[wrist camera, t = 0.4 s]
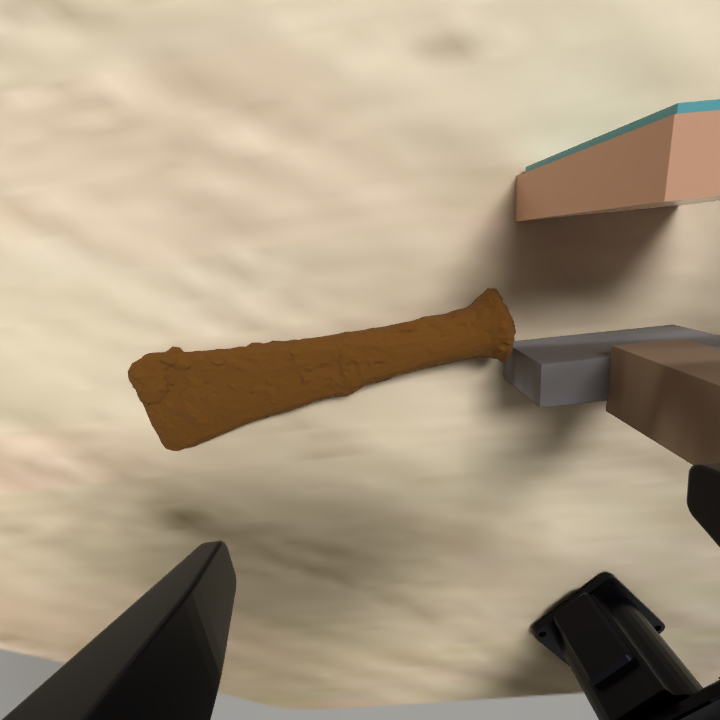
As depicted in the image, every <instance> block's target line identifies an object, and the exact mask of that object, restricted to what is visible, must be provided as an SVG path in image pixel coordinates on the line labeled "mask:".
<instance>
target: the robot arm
mask: <svg viewBox="0 0 720 720" xmlns="http://www.w3.org/2000/svg"><path fill="white" fill-rule="evenodd" d="M687 506H688V508H689V511H690V512H691V514H692V516H693V517H694V518H695V519H696V520H697V522H698V523H699V524H700V525H701V526H702V527H703V528H704V530H705V531H706V532H707V533H708V534H709V535H710V536H711V538H712V539H713V540H714V541H715V542H716V543H717V545H718V546H719V547H720V462H707V463H701V464H696V465H694V466H692V467H691V468H690V470H689V477H688V490H687ZM235 591H236V575H235V571H234V568H233V564H232V561H231V558H230V555H229V551H228V548H227V545H226V544H225V542H223V541H215V542H209V543H204V544H201V545H200V546H199V547H198V548H196V549H195V550H194V551H193V552H192V553H191V554H190V555H188V556H187V557H186V558H185V559H184V560H183V561H182V562H180V563H179V564H178V565H177V566H176V567H175V568H174V569H173V570H171V571H170V572H169V573H168V574H167V575H166V576H165V577H163V578H162V579H161V580H160V581H159V582H158V583H157V584H156V585H154V586H153V587H152V588H151V589H150V590H149V591H148V592H146V593H145V594H144V595H143V596H142V597H141V598H140V599H138V600H137V601H136V602H135V603H134V604H133V605H132V606H131V607H129V608H128V609H127V610H126V611H125V612H124V613H123V614H121V615H120V616H119V617H118V618H117V619H116V620H115V621H113V622H112V623H111V624H110V625H109V626H108V627H107V628H106V629H104V630H103V631H102V632H101V633H100V634H99V635H98V636H96V637H95V638H94V639H93V640H92V641H91V642H90V643H88V644H87V645H86V646H85V647H84V648H83V649H82V650H80V651H79V652H78V653H77V654H76V655H75V656H74V657H73V658H71V659H70V660H69V661H68V662H67V663H66V664H65V665H63V666H62V667H61V668H60V669H59V670H58V671H57V672H56V673H54V674H53V675H52V676H51V677H50V678H49V679H48V680H46V681H45V682H44V683H43V684H42V685H41V686H40V687H39V688H37V689H36V690H35V691H34V692H33V693H32V694H31V695H29V696H28V697H27V698H26V699H25V700H24V701H22V702H21V703H20V704H19V705H18V706H17V707H16V708H15V709H13V710H12V711H11V712H10V713H9V714H8V715H7V716H5V717H4V718H3V719H2V720H210V719H211V715H212V711H213V707H214V704H215V699H216V696H217V692H218V688H219V684H220V679H221V675H222V669H223V664H224V658H225V652H226V646H227V640H228V634H229V628H230V621H231V615H232V609H233V603H234V597H235ZM664 629H665V625H664V624H663V623H662V621H661V620H660V619H659V618H658V617H657V616H656V615H655V614H654V613H653V612H652V611H651V610H650V609H649V608H648V607H646V606H645V605H644V604H643V603H642V602H641V601H640V600H639V599H638V598H637V597H636V596H635V595H634V594H633V593H632V592H631V591H630V590H629V589H628V588H627V587H626V586H625V585H623V584H622V583H621V582H620V581H619V580H618V579H617V578H616V577H615V576H614V575H613V574H611V573H605V574H603V575H601V576H600V577H599V578H597V579H596V580H594V581H593V582H592V583H590V584H589V585H588V586H586V587H585V588H584V589H582V590H581V591H580V592H578V593H577V594H576V595H574V596H573V597H572V598H570V599H569V600H568V601H566V602H565V603H564V604H562V605H561V606H560V607H558V608H557V609H556V610H554V611H553V612H552V613H550V614H549V615H547V616H546V617H545V618H543V619H542V620H541V621H539V622H538V623H537V624H535V625H534V626H533V628H532V631H533V633H534V635H535V637H536V639H537V640H539V641H540V642H541V643H542V644H544V645H545V646H546V647H547V648H548V649H550V650H551V651H552V652H553V653H554V654H556V655H557V656H558V657H559V658H561V659H562V660H563V661H564V662H565V663H567V664H568V665H569V666H570V667H571V669H572V671H573V673H574V675H575V677H576V678H577V680H578V682H579V684H580V686H581V688H582V689H583V691H584V693H585V695H586V697H587V699H588V700H589V702H590V704H591V706H592V708H593V710H594V711H595V713H596V715H597V717H598V719H599V720H720V680H718V681H716V682H715V683H713V684H711V685H709V686H707V687H705V688H703V687H702V686H701V685H700V684H699V682H698V681H697V680H696V679H695V677H694V676H693V675H692V674H691V673H690V671H689V670H688V669H687V668H686V666H685V665H684V664H683V663H682V662H681V660H680V659H679V658H678V657H677V655H676V654H675V653H674V652H673V651H672V649H671V648H670V647H669V646H668V644H667V643H666V642H665V641H664V640H663V638H662V637H661V636H660V635H659V634H660V633H661V632H662V631H663V630H664ZM718 678H719V679H720V677H718Z"/></svg>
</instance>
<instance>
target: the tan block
mask: <svg viewBox="0 0 720 720" xmlns="http://www.w3.org/2000/svg"><path fill="white" fill-rule="evenodd" d="M711 201H720V99H719V100H708V101H697V102H686V103H678V104H675V105H673V106H671V107H668V108H666V109H663V110H661V111H659V112H656V113H654V114H651V115H649V116H647V117H644V118H642V119H640V120H637V121H635V122H632V123H630V124H628V125H625V126H623V127H620V128H618V129H616V130H613V131H611V132H608V133H606V134H604V135H601V136H599V137H597V138H594V139H592V140H589V141H587V142H585V143H582V144H580V145H577V146H575V147H573V148H570V149H568V150H566V151H563V152H561V153H558V154H556V155H554V156H551V157H549V158H546V159H544V160H542V161H539V162H537V163H535V164H532V165H530V166H527V167H526V172H525V173H523V174H520V175H518V176H516V221H524V220H534V219H544V218H555V217H565V216H575V215H585V214H595V213H606V212H616V211H626V210H636V209H646V208H657V207H667V206H677V205H686V204H694V203H703V202H711Z"/></svg>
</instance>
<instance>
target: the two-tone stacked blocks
mask: <svg viewBox="0 0 720 720" xmlns="http://www.w3.org/2000/svg"><path fill="white" fill-rule="evenodd" d="M504 379H505V380H507V381H508V382H509V383H510V384H512V385H513V386H514V387H515V388H517V389H518V390H519V391H520V392H521V393H523V394H524V395H525V396H526V397H528V398H529V399H530V400H531V401H533V402H534V403H535V404H536V405H537V406H539V407H550V406H559V405H568V404H577V403H587V402H596V401H605V400H607V404H606V411H607V412H609V413H610V414H612V415H614V416H615V417H617V418H618V419H620V420H622V421H623V422H625V423H626V424H628V425H630V426H631V427H633V428H634V429H636V430H638V431H639V432H641V433H642V434H644V435H646V436H647V437H649V438H650V439H652V440H654V441H655V442H657V443H658V444H660V445H662V446H663V447H665V448H667V449H668V450H670V451H671V452H673V453H675V454H676V455H678V456H679V457H681V458H683V459H684V460H686V461H687V462H689V463H691V464H692V465H696V464H701V463H707V462H720V336H718V335H714V334H710V333H705V332H701V331H697V330H693V329H689V328H684V327H680V326H676V325H665V326H655V327H646V328H636V329H627V330H617V331H607V332H598V333H588V334H578V335H569V336H559V337H550V338H540V339H530V340H521V341H514V344H513V349H512V352H511V355H510V357H509V359H508V360H506V361H504Z"/></svg>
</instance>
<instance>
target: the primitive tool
mask: <svg viewBox="0 0 720 720" xmlns="http://www.w3.org/2000/svg"><path fill="white" fill-rule="evenodd" d="M515 333H516V331H515V325H514V321H513V319H512V317H511V315H510V313H509V311H508V308H507V306H506V305H505V304H504V302H503V300H502V298H501V296H500V295H499V293H498V291H497V290H496V289H494V288H488V289H487V290H486V291H485V292H484V293H483V294H482V295H481V296H480V297H479V298H478V299H477V300H476V301H475V302H474V303H473V304H472V305H470V306H469V307H468V308H464V309H459V310H455V311H452V312H450V313H447V314H442V315H434V316H425V317H421V318H420V319H416V320H414V321H410V322H404V323H399V324H395V325H390V326H385V327H379V328H370V329H366V330H361V331H354V332H344V333H340V334H335V335H330V336H323V337H316V338H307V339H301V340H289V341H285V342H283V341H271V342H269V343H264V344H262V343H251V344H249V345H248V346H246V347H236V348H231V349H216V350H209V351H194V352H183V351H182V350H181V349H180V348H178V347H172V348H170V349H169V350H168V351H166V352H161V353H160V352H159V353H149V354H146V355H144V356H143V357H142V359H139V360H138V361H136V362H134V363H132V365H131V367H130V369H129V371H128V377H129V380H130V382H131V383H132V385H133V388H135V389H136V392H137V395H138V397H139V399H140V401H141V402H142V403H143V405H144V407H145V409H146V412H147V415H148V417H149V419H150V422H151V424H152V426H153V427H154V429H155V431H156V432H157V434H158V436H159V438H160V440H161V443H162V444H163V446H164V447H165V448H166V449H169V450H173V451H179V450H182V449H184V448H189V447H192V446H196V445H197V444H199V443H202V442H204V441H207V440H210V439H212V438H214V437H217V436H219V435H221V434H223V433H226V432H228V431H231V430H233V429H235V428H237V427H239V426H241V425H244V424H247V423H249V422H252V421H255V420H258V419H261V418H265V417H268V416H270V415H274V414H279V413H282V412H286V411H290V410H293V409H295V408H299V407H301V406H304V405H307V404H310V403H312V402H314V401H317V400H322V399H325V398H330V397H331V396H347V395H350V394H352V393H354V392H355V391H357V390H358V389H360V388H361V387H363V386H365V385H368V384H372V383H377V382H380V381H385V380H388V379H391V378H392V377H394V376H396V375H398V374H402V373H408V372H412V371H416V370H419V369H423V368H427V367H431V366H436V365H439V364H445V363H448V362H453V361H457V360H462V359H469V358H472V357H491V358H494V359H498V360H500V361H502V362H504V361H506V360H508V359H509V357H510V355H511V352H512V349H513V344H514V335H515Z"/></svg>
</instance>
